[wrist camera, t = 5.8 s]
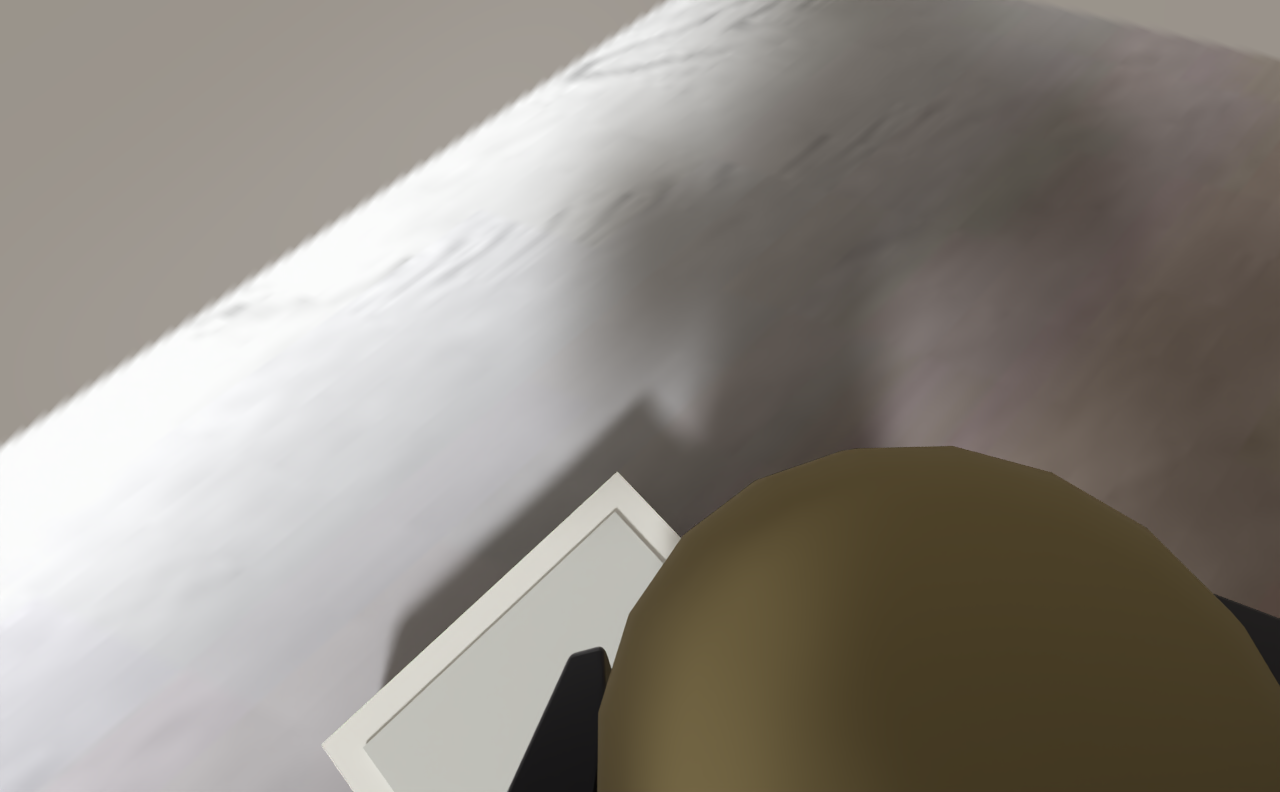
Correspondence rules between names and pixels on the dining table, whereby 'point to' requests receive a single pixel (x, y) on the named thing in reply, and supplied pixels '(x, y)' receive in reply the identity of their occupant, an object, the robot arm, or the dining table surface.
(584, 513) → the tray
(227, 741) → the dining table surface
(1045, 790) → the cork
